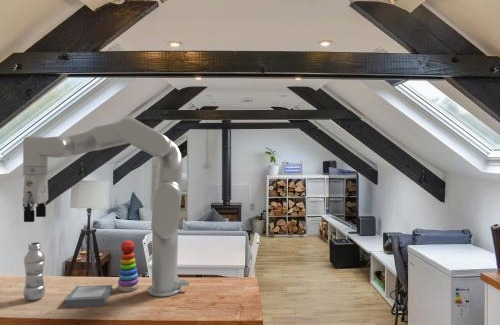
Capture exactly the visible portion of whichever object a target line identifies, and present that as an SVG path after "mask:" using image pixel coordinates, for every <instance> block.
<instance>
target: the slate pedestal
mask: <svg viewBox="0 0 500 325" xmlns="http://www.w3.org/2000/svg"><path fill="white" fill-rule="evenodd" d="M112 293H113V284H105V285H104V284H103V285H102V284H101V285H100V284H99V285H77V286H75V287H74V288H73V290H72V291H71V292H70V293H69V294H68V295H67V297H66V298H65V299H64V308H78V307H79V308H80V307H81V308H82V307H99V306H106V304H107V302H108V300H109V298H110V296H111V295H112Z"/></svg>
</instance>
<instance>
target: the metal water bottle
mask: <svg viewBox="0 0 500 325" xmlns="http://www.w3.org/2000/svg"><path fill="white" fill-rule="evenodd" d="M27 248H28V249H27V250H28V252H27V253H26V255H25V256H24V259H23V262H24V268H25V269H24V271H25V282H24V283H25V284H24V289H23V298H24V299H25V300H26V301H36V300H40V299H41V298H43V297H44V296H45V293H46V289H45V282H44V269H45V262H46V261H45V259H46V256H45V253H44V252H43V251H42V250H41V248H42V247H41V242H30V243H28V247H27Z"/></svg>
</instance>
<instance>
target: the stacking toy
mask: <svg viewBox="0 0 500 325" xmlns="http://www.w3.org/2000/svg"><path fill="white" fill-rule="evenodd" d="M135 247H136V246H135V243H134V242H133V241H132V240H129V239H128V240H125V241H122V243H121V246H120V249H121V252H122V253H121V255H120V257H121V259H120V265H119V268H120V269H119V276H118V280H117V283H118V284H117V289H118V290H119V291H120V292H132V291H135V290H136V289H138V288H139V287H140V283H139V278H138V276H139V274H138V269H137V264H136V258H135V256H136V254H135V252H133V251H134V250H135Z"/></svg>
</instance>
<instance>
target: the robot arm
mask: <svg viewBox="0 0 500 325" xmlns="http://www.w3.org/2000/svg"><path fill="white" fill-rule="evenodd" d="M22 142H23V146H22V147H23V148H22V150H23V151H22V152H23V154H22V164H23V165H22V169H23V170H22V175H23V177H24V180H23V192H22V193H23V194H22V195H23V197H22V207H23V208H22V209H23V222H24V223H34V222H35V217H36V218H45V217H46V216H47V214H46V212H47V206H46V205H47V202H48V200H49V184H48V183H49V182H48V177H47V176H48V163H49V161H48V160H49V159H48V158H54V159H56V158H57V159H59V158H60V159H61V158H67V157H73V156H77V155H80V154H85V153H89V152H94V151H102V150H106V149H109V148H110V149H111V148H112V147H118V146H122V145H126V144H127V145H128V144H130V145H131V146H134V147H135V148H137V149H139V150H141V151H143V152H145V153H147V154H149V155H150V156H152V157H156V158H158V160H159V170H158V181H157V187H156V189H155V192H154V199H153V206H152V213H151V215H152V217H151V224H150V225H151V226H150V227H151V231H152V232H151V234H152V236H151V237H152V238H151V239H152V240H151V242H152V243H151V245H152V246H151V285H150V286H148V287H147V294H149V295H150V296H154V297H170V296H174V295H176V294H179V293H180V292H181V290H182V287H189V286H190V281H189V280H187V279H181V278H179V275H178V246H179V245H178V236H179V234H178V233H179V221H180V217H181V216H180V214H181V205H182V189H181V185H182V184H181V183H182V176H183V175H182V173H183V156H182V153H181V151H180V148H179V147H178V146H177V144H176V143H175V142H174V141H173V140H172V139H170V138H169V137H168V136H167V135H164V134H163V133H160V132H159V131H157V130H155V129H154V128H152V127H150V126H148V125H147V124H144V123H142V121H140V120H137V118H133V117H126V118H123V119H121V120H120V121H117V122H112V123H108V124H103V125H98V126H97V125H96V126H94V127H92V128H91V129H89V130H88V131H84V132H82V133H77V134H73V135H68V136H64V137H63V136H50V137H48V136H47V137H43V136H26V137H25V138H23V140H22ZM34 208H35V209H34Z"/></svg>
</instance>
